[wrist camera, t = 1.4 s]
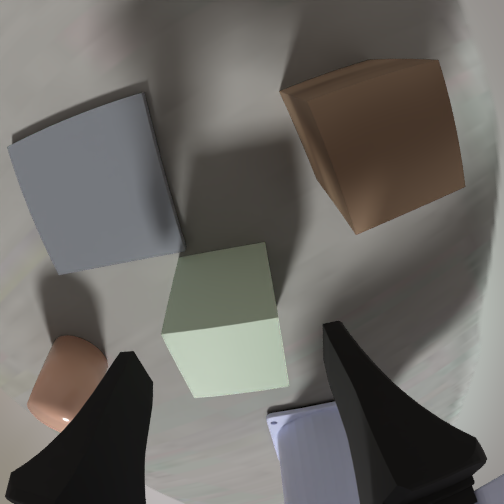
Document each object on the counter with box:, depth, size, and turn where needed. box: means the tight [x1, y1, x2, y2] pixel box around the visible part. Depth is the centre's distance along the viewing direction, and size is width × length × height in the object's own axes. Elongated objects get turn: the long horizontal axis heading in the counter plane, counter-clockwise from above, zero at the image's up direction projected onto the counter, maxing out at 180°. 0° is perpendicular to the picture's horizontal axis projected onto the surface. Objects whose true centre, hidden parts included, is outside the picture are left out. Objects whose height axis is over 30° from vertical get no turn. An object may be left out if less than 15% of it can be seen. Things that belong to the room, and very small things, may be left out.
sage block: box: [161, 242, 289, 398], centre depth 14 cm, size 4×4×5 cm
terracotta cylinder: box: [27, 335, 108, 432], centre depth 16 cm, size 4×4×5 cm
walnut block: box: [279, 59, 465, 235], centre depth 10 cm, size 4×4×5 cm
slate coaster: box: [7, 92, 186, 275], centre depth 13 cm, size 7×7×1 cm
